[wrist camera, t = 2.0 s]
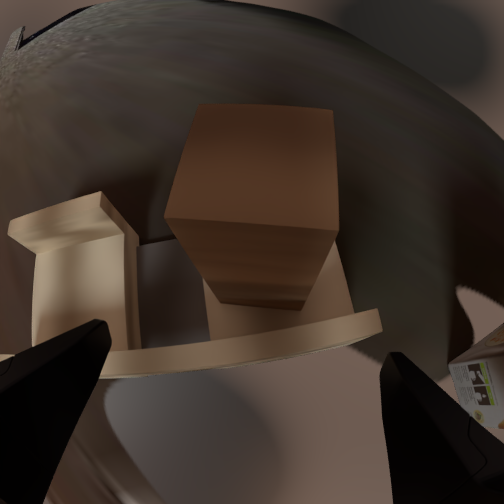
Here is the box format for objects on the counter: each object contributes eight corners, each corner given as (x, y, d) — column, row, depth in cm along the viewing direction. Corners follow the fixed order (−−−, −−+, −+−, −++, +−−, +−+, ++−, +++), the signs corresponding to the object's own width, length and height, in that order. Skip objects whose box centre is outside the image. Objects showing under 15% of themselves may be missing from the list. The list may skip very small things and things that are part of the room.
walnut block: (301, 310, 18) (339, 230, 8) (220, 303, 19) (163, 217, 9) (305, 236, 20) (332, 110, 10) (231, 230, 21) (199, 104, 10)
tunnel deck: (312, 205, 24) (324, 148, 18) (348, 344, 20) (382, 331, 14) (56, 254, 24) (10, 220, 18) (55, 378, 20) (-2, 371, 13)
